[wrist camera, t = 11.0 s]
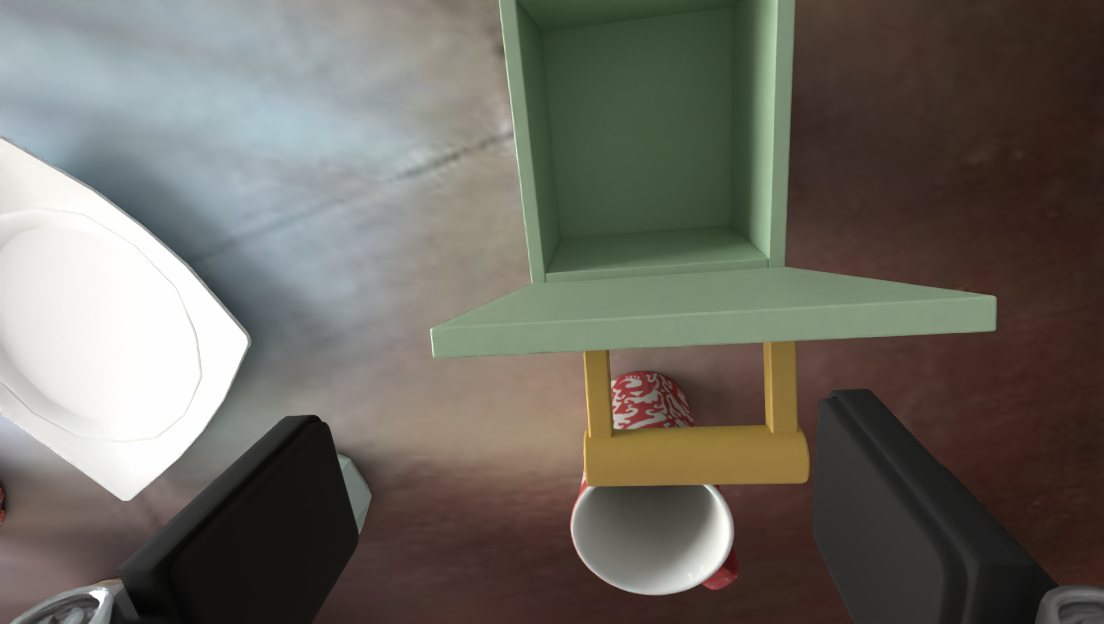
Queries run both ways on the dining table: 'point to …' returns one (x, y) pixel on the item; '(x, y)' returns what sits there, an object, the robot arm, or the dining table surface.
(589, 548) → the mug
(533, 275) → the chest
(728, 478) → the lid
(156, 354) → the plate
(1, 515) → the flower pot
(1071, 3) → the dining table surface
